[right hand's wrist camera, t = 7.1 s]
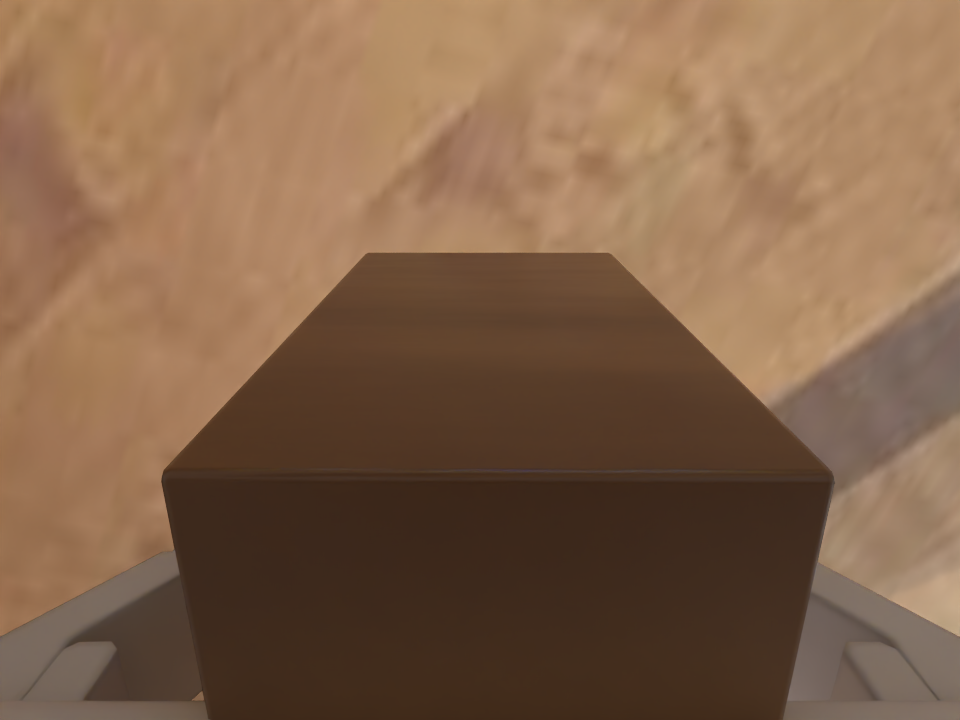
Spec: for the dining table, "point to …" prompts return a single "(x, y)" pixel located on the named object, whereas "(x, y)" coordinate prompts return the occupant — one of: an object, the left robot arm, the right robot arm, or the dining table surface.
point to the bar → (495, 509)
